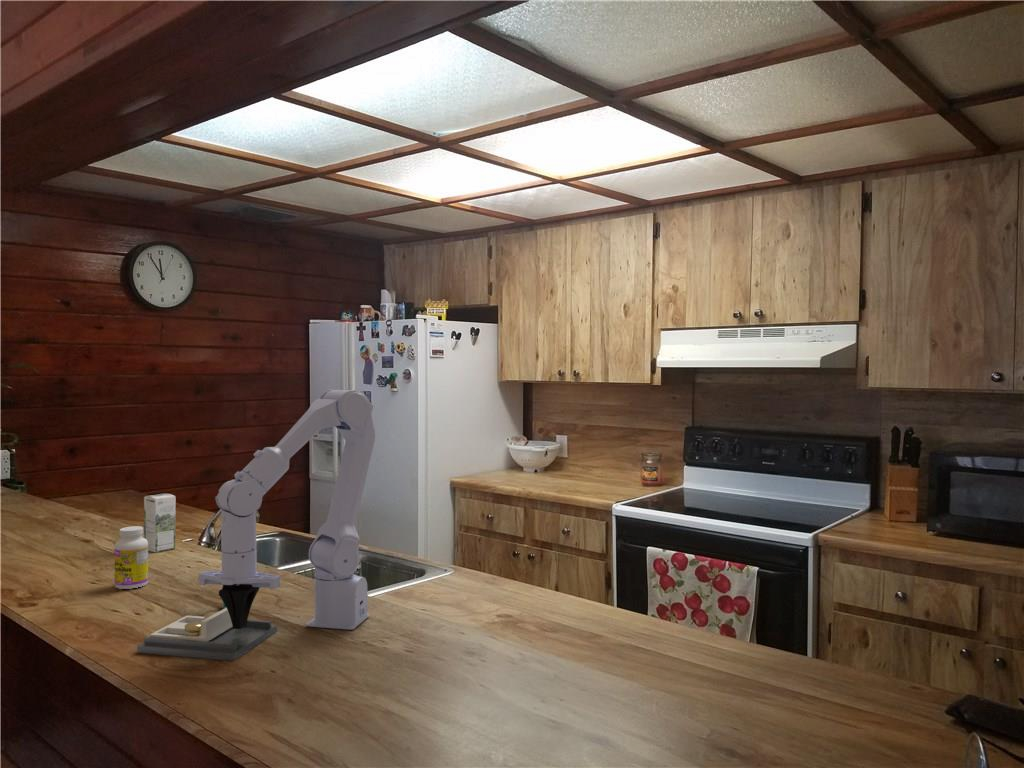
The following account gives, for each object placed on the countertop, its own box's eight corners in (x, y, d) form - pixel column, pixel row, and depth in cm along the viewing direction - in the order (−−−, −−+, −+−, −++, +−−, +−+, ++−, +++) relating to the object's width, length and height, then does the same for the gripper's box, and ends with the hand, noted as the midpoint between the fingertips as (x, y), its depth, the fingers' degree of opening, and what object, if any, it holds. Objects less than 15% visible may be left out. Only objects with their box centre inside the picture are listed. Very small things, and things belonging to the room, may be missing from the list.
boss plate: (277, 631, 135) (276, 610, 135) (233, 661, 122) (233, 637, 122) (188, 624, 139) (188, 604, 139) (137, 652, 125) (136, 629, 125)
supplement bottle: (107, 588, 162) (107, 530, 162) (133, 580, 168) (132, 524, 168) (130, 592, 160) (129, 532, 160) (155, 583, 166) (154, 526, 166)
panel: (235, 624, 135) (235, 605, 135) (202, 644, 125) (202, 623, 125) (186, 620, 137) (186, 602, 137) (150, 640, 127) (150, 620, 127)
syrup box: (164, 545, 202) (164, 492, 201) (176, 549, 198) (175, 494, 198) (143, 550, 197) (143, 495, 197) (155, 553, 194) (155, 497, 193)
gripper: (187, 553, 126) (188, 632, 127) (265, 557, 124) (265, 638, 124) (212, 543, 133) (212, 618, 134) (286, 547, 131) (286, 623, 131)
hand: (239, 627), depth 129 cm, fingers closed
